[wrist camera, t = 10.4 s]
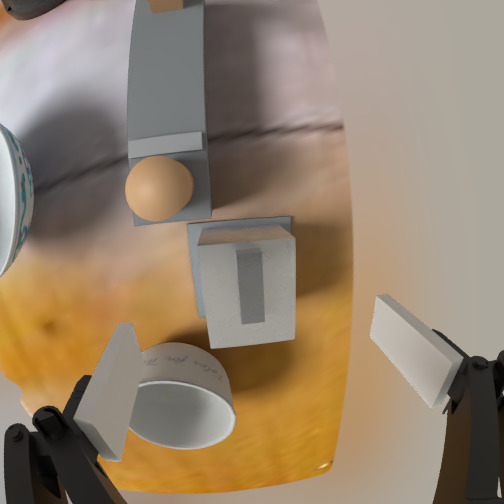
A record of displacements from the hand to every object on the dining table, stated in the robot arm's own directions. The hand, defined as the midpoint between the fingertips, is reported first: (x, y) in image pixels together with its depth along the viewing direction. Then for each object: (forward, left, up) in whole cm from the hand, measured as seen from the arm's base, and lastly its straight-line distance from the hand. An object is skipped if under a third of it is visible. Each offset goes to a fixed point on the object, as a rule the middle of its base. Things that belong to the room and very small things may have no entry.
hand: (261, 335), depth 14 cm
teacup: (+11, -9, -12) cm, 19 cm away
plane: (-16, -5, -12) cm, 20 cm away
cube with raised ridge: (0, 0, -12) cm, 12 cm away
